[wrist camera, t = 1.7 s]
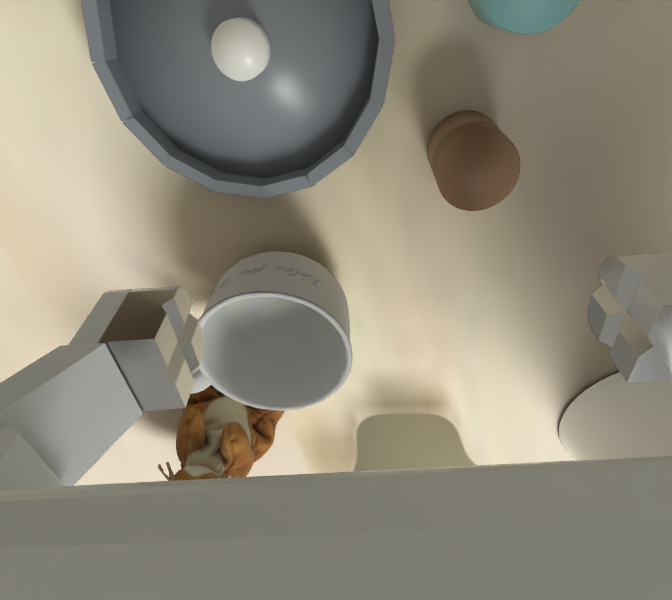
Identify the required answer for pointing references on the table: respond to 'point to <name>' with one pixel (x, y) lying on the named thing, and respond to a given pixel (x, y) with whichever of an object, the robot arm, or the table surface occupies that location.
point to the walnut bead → (472, 161)
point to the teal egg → (523, 13)
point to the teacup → (275, 333)
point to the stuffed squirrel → (221, 437)
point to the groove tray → (244, 84)
